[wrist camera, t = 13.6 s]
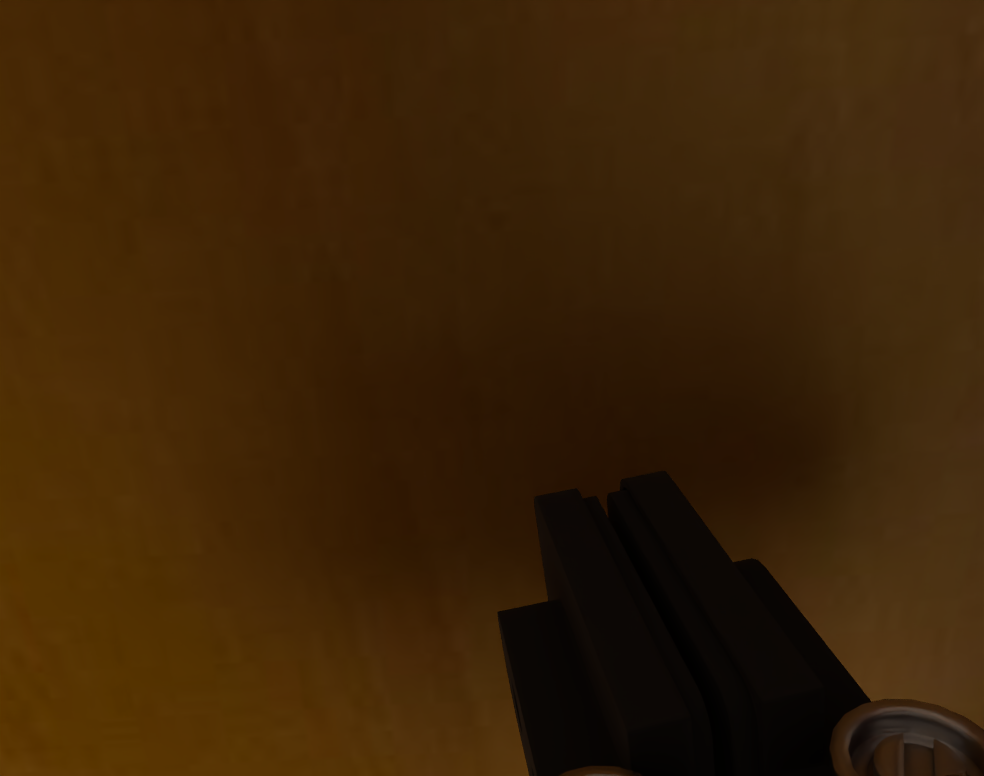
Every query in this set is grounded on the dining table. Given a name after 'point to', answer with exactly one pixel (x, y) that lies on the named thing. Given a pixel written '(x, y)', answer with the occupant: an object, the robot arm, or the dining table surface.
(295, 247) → the dining table surface
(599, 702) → the robot arm
